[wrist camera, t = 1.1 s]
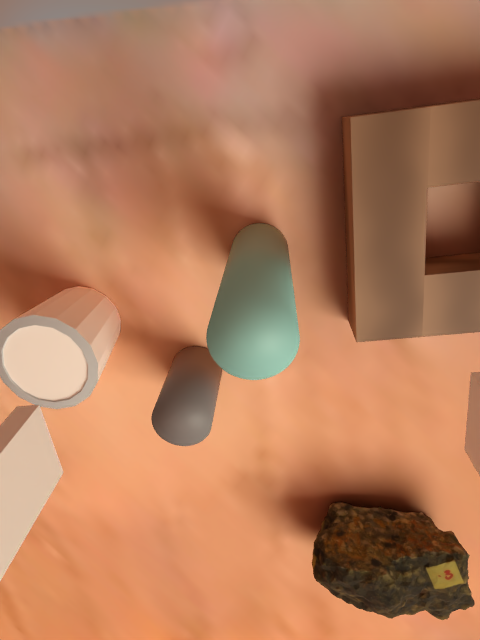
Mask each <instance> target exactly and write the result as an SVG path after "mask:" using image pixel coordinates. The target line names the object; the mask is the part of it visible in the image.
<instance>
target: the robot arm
mask: <svg viewBox="0 0 480 640" xmlns="http://www.w3.org/2000/svg"><path fill="white" fill-rule="evenodd" d="M465 451H466V453H467V455H468V456H469V458H470V460H471V462H472V463H473V465H474V467H475V468H476V470H477V472H478V474H479V475H480V372H473V373H471V378H470V390H469V402H468V414H467V425H466V437H465ZM62 474H63V469H62V467H61V464H60V461H59V458H58V456H57V453H56V450H55V447H54V444H53V442H52V439H51V436H50V433H49V430H48V428H47V425H46V422H45V419H44V416H43V414H42V411H41V408H40V405H31V406H18V407H16V408H15V409H14V410H13V411H12V413H11V414H10V415H9V416H8V417H7V418H6V419H5V421H4V422H3V423H2V424H1V425H0V581H1V579H2V577H3V576H4V574H5V572H6V570H7V569H8V567H9V565H10V564H11V562H12V560H13V558H14V557H15V555H16V553H17V551H18V550H19V548H20V546H21V545H22V543H23V541H24V539H25V538H26V536H27V534H28V533H29V531H30V529H31V527H32V526H33V524H34V522H35V521H36V519H37V517H38V515H39V514H40V512H41V510H42V509H43V507H44V505H45V503H46V502H47V500H48V498H49V497H50V495H51V493H52V491H53V490H54V488H55V486H56V485H57V483H58V481H59V479H60V478H61V476H62Z"/></svg>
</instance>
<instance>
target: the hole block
mask: <svg viewBox="0 0 480 640" xmlns="http://www.w3.org/2000/svg"><path fill="white" fill-rule="evenodd" d="M342 142H343V171H344V201H345V230H346V260H347V289H348V319H349V323H350V326H351V329H352V331H353V334H354V337H355V339H356V342H365V341H377V340H389V339H401V338H413V337H425V336H437V335H449V334H462V333H474V332H480V252H479V253H469V254H459V255H449V256H439V257H429V258H425V250H426V223H427V196H428V187H437V186H445V185H454V184H463V183H471V182H480V99H473V100H465V101H458V102H451V103H443V104H436V105H428V106H421V107H413V108H406V109H398V110H391V111H383V112H376V113H369V114H361V115H354V116H346V117H342Z"/></svg>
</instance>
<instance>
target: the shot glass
mask: <svg viewBox="0 0 480 640" xmlns="http://www.w3.org/2000/svg"><path fill="white" fill-rule="evenodd" d="M120 329H121V319H120V316H119V313H118V311H117V308H116V306H115V305H114V304H113V303H112V302H111V301H110V299H109V298H108V297H107V296H106V295H104V294H102V293H100V292H99V291H97V290H95V289H93V288H87V287H81V286H77V287H72V288H68V289H64V290H63V291H61V292H59V293H58V294H56V295H54V296H52V297H51V298H49V299H47V300H46V301H44V302H42V303H41V304H39V305H37V306H35V307H34V308H32V309H30V310H29V311H27V312H25V313H23V314H22V315H20V316H18V317H17V318H15V319H13V320H12V321H11V322H10V323H8V324H7V325H6V326H5V327H3V328H2V329H1V330H0V377H1V379H2V380H3V382H4V383H5V384H6V385H7V386H8V387H9V388H10V389H11V390H12V391H13V392H14V393H15V394H16V395H17V396H18V397H20V398H22V399H24V400H26V401H28V402H30V403H32V404H34V405H40V407H47V408H53V409H61V408H66V407H72V406H76V405H77V404H79V403H80V402H82V401H83V400H85V399H86V398H88V397H89V396H90V395H91V393H92V391H93V389H94V388H95V386H96V384H97V382H98V380H99V378H100V376H101V373H102V371H103V369H104V367H105V365H106V363H107V360H108V358H109V356H110V354H111V352H112V349H113V347H114V345H115V343H116V341H117V339H118V336H119V334H120Z"/></svg>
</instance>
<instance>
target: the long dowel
mask: <svg viewBox="0 0 480 640" xmlns="http://www.w3.org/2000/svg"><path fill="white" fill-rule="evenodd" d="M206 339H207V346H208V349H209V352H210V354H211V356H212V358H213V359H214V361H215V362H216V363H217V364H218V365H219V366H220V367H221V368H222V369H223V370H224V371H226V372H228V373H229V374H231V375H233V376H236V377H239V378H243V379H249V380H259V379H265V378H269V377H272V376H274V375H276V374H278V373H280V372H281V371H283V370H284V369H285V368H287V367H288V366H289V365H290V363H291V362H292V361H293V359H294V358H295V356H296V354H297V351H298V348H299V342H300V336H299V328H298V320H297V313H296V305H295V298H294V290H293V282H292V275H291V267H290V259H289V252H288V245H287V241H286V239H285V237H284V236H283V234H282V233H281V232H280V231H279V230H278V229H277V228H275V227H273V226H271V225H269V224H264V223H256V224H251V225H248V226H246V227H245V228H243V229H242V230H241V231H240V232H239V233H238V234H237V235H236V237H235V239H234V241H233V244H232V247H231V250H230V254H229V257H228V260H227V264H226V267H225V271H224V274H223V277H222V281H221V284H220V288H219V291H218V294H217V298H216V301H215V305H214V308H213V311H212V315H211V318H210V322H209V325H208V329H207V337H206Z"/></svg>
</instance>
